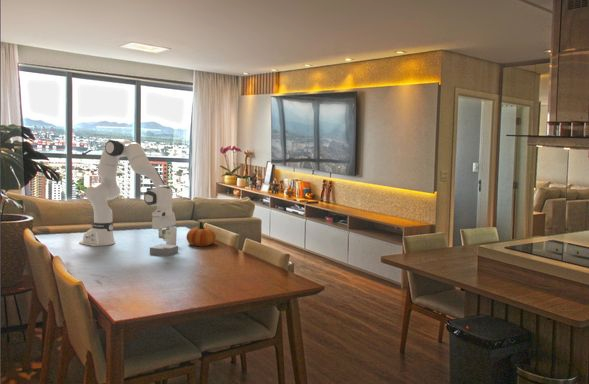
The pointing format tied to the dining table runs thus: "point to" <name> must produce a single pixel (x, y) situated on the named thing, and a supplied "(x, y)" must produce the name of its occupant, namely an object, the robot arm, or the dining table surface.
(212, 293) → the dining table surface
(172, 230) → the mug
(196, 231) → the pumpkin
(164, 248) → the riser block
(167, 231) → the cube
